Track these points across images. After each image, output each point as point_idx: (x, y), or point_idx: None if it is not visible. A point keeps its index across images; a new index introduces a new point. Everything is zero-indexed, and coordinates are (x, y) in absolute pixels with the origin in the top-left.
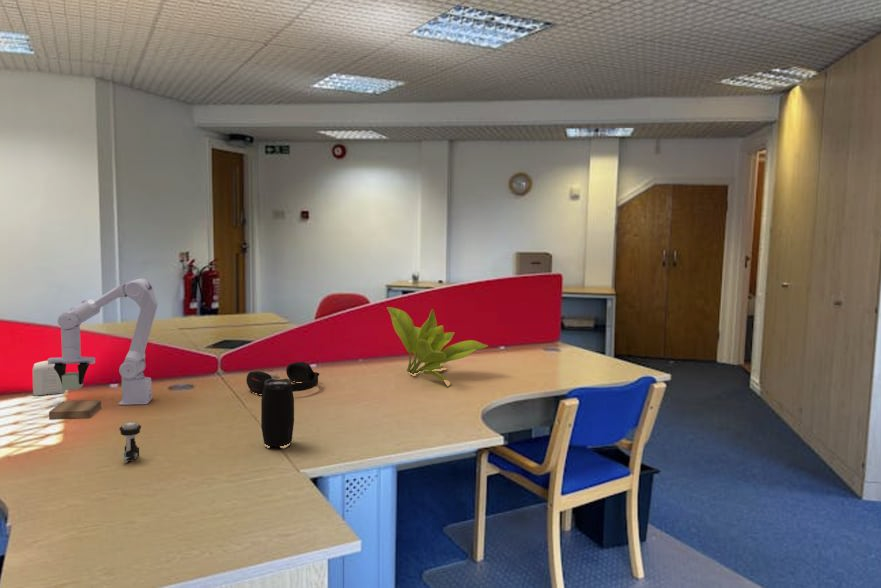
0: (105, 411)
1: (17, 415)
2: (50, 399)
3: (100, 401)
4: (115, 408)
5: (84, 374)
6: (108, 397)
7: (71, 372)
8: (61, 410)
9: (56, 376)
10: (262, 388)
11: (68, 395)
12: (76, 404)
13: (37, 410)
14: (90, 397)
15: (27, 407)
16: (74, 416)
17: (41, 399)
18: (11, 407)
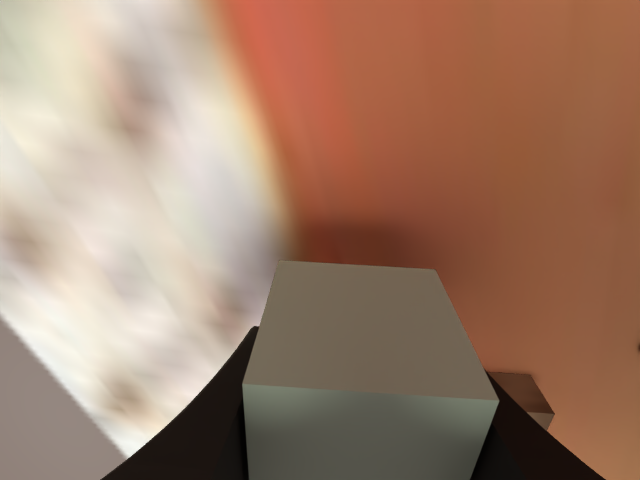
0: (551, 432)
1: (141, 425)
2: (142, 136)
3: (549, 415)
4: (608, 398)
5: (521, 425)
6: (596, 139)
7: (317, 391)
8: None
9: None
10: None
11: (235, 6)
12: None
13: (193, 370)
14: (447, 117)
15: (103, 312)
16: None
17: (71, 126)
18: (7, 298)
